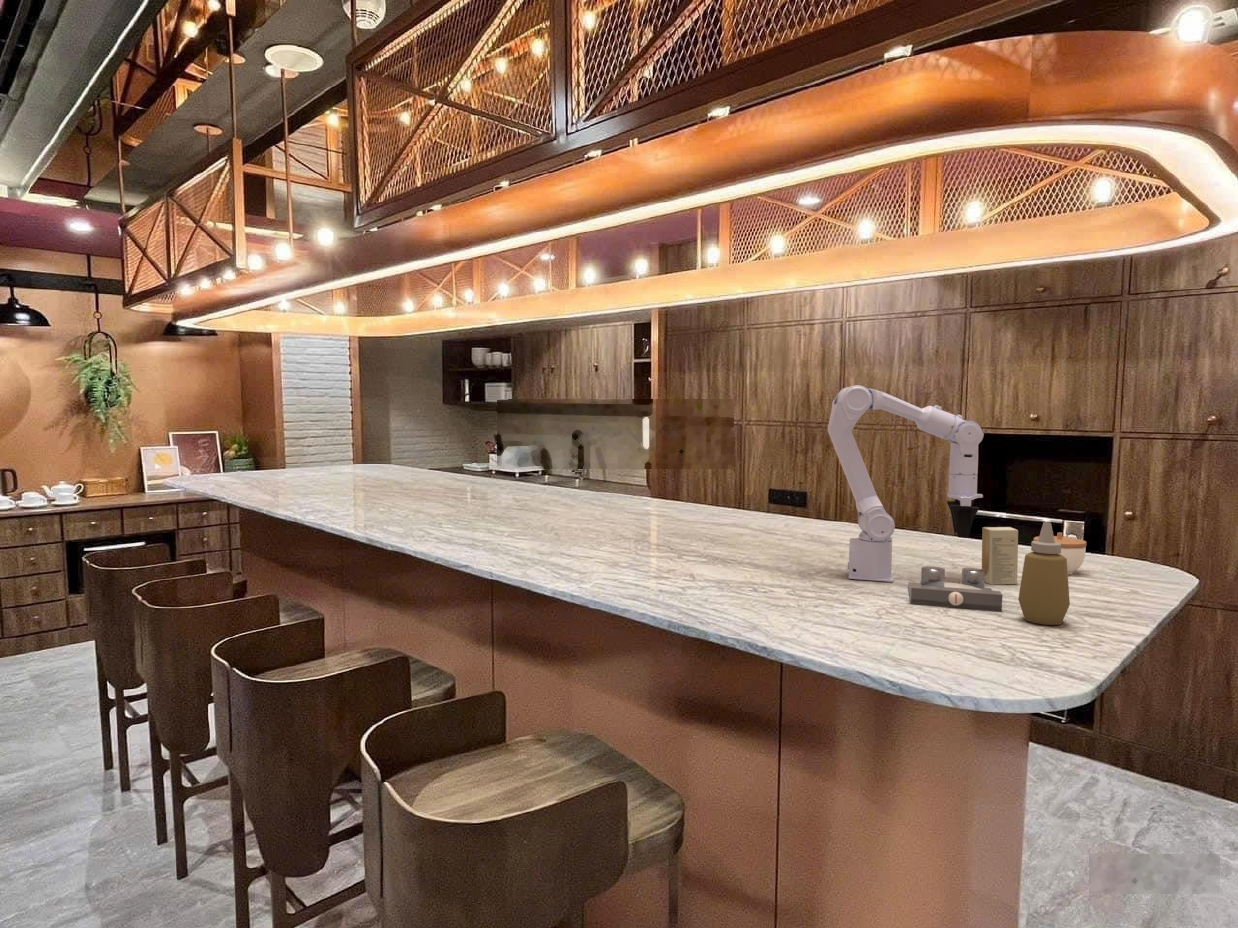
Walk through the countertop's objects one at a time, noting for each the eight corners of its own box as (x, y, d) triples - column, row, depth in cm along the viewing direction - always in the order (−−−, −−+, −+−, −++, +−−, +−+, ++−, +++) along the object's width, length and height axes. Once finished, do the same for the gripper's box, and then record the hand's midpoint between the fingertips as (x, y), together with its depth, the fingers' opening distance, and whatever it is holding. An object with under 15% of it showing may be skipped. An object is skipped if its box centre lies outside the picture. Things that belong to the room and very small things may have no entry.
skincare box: (1009, 580, 162) (1011, 526, 161) (1017, 584, 158) (1020, 529, 157) (979, 579, 162) (981, 526, 162) (987, 584, 158) (989, 529, 157)
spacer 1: (921, 589, 147) (922, 569, 147) (920, 584, 151) (920, 565, 151) (945, 591, 145) (945, 571, 145) (943, 586, 150) (943, 567, 149)
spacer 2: (962, 589, 153) (963, 571, 153) (960, 585, 157) (961, 567, 157) (985, 591, 152) (986, 573, 151) (982, 586, 156) (983, 568, 156)
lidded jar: (1022, 567, 176) (1023, 529, 175) (1062, 566, 177) (1064, 528, 176) (1053, 577, 165) (1055, 537, 164) (1096, 576, 166) (1098, 536, 165)
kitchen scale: (910, 604, 141) (911, 588, 141) (908, 586, 156) (908, 572, 156) (1002, 612, 136) (1002, 595, 136) (990, 593, 150) (991, 577, 150)
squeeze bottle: (1025, 612, 136) (1029, 518, 134) (1074, 621, 130) (1079, 522, 129) (1011, 621, 130) (1015, 522, 129) (1062, 630, 124) (1066, 527, 123)
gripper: (987, 477, 152) (985, 541, 153) (979, 472, 165) (976, 530, 166) (951, 476, 154) (949, 538, 155) (945, 471, 168) (943, 528, 169)
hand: (961, 534), depth 161 cm, fingers open, 7 cm apart
